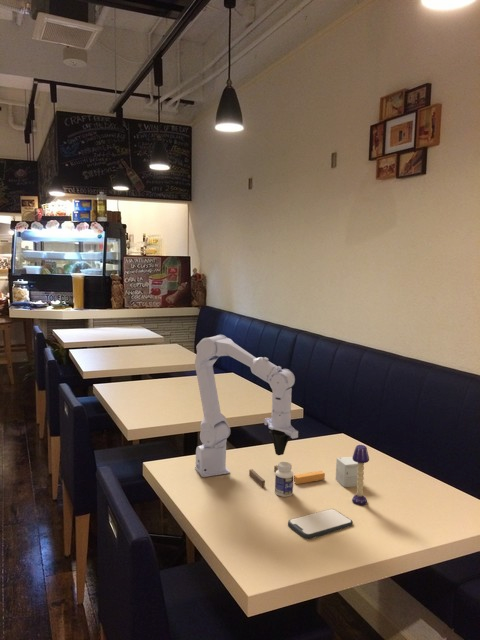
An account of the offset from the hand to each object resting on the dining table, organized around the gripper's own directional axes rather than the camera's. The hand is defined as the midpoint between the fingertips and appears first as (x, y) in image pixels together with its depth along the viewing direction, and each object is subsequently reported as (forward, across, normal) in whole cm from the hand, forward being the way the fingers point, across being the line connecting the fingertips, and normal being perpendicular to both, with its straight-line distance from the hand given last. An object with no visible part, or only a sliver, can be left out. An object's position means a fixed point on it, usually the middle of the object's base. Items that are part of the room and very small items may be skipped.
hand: (279, 454), depth 155 cm
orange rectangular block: (+10, +1, +11) cm, 15 cm away
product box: (+11, +8, +21) cm, 25 cm away
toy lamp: (+10, +19, +14) cm, 26 cm away
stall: (+10, -6, +1) cm, 12 cm away
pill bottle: (+11, +4, -1) cm, 11 cm away
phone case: (+11, +24, -4) cm, 26 cm away
